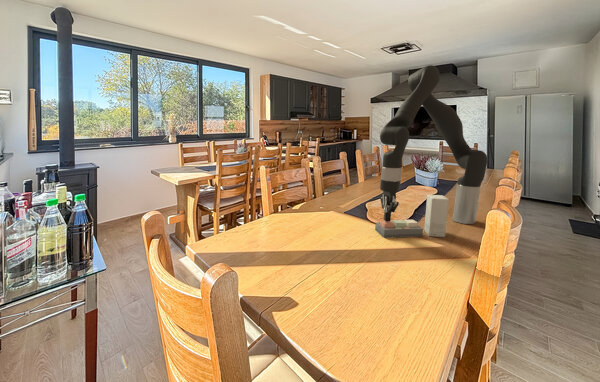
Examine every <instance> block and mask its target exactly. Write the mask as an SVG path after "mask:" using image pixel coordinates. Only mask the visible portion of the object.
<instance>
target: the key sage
mask: <svg viewBox="0 0 600 382" xmlns="http://www.w3.org/2000/svg"><path fill="white" fill-rule="evenodd" d="M391 221H392V222H393V223H394V227H396V228H397V227H406V223H405V222H404V220H402V219H392V220H391Z"/></svg>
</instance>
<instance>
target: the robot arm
mask: <svg viewBox="0 0 600 382" xmlns="http://www.w3.org/2000/svg"><path fill="white" fill-rule="evenodd" d="M440 80H441V74H440V71H439V69H438V67H436V66H435V65H431V64H429V65H425V66H424V67H422V68H420V69H418V70H417V71H414V73H411V74H410V75H409V76H408V79H407V85H408V86H409V87H408V88H409V89H410V91H411V93H410V95H409V96H407V98H406V99H405V100H404V101H403V102H402V103H401V105H400V106H399V107H398V110H397V111H396V113H395V115H394V117H392V118H391V119H390V120H389V121H388V122H387V123H386V124H385V125H384V126H383V127H382V129H381V131H380V133H379V141H380V142H381V143H382V144H383V145H385V146H395V147H394V149H393V150H389V151H386V152H384V153H383V157H382V167H381V170H380V173H381V174H380V183H379V189H380V191H382V194H380V195H379V199H380V205H381V208H382V210H383V212H384V214H383V220H385V221H392V220H391V218H392V213H395V211H396V210H397V209H398V206H399V205H400V203H399V201H397V194H396V193H399V192H400V191H401V181H402V163H403V157H404V153H405V150H406V147H407V145H408V143H409V140H410V131H409V129H408V128H410V126H412V123H413V122H414V119H415V118H416V117H417V116H416V115H417V114H418V112H419V111H420V109H421V108H422V107H423V108H424V109H425V111H426V112H427V114H428V115H429V117H430V119H431V120H432V122H433V124H434V125H435V127H436V129H437V130H438V132H439V133H440V135H441V136H442V138H443V139H444V141H445V143H446V144H447V146H448V147H449V149H450V151H451V153H452V155H453V157H454V159H455V161H456V163H457V165H458V166H459V167H460V168H461V169H463V170H464V175H463V176H460V177H459V178H458V179H457V181H456V182H457V184H456V191H455V199H454V200H455V201H454V205H453V214H452V221H454V222H456V223H460V224H465V225H473V224H475V223H476V221H477V213H478V209H479V200H480V199H479V198H480V193H481V186H482V182H483V181H484V180H485V176H486V170H487V165H488V156H487V154H486V152H485V151H484V150H479V149H472V148H471V147H470V146H469V144H468V142H467V141H466V139H465V137H464V127H463V123H462V120H461V118H460V117H459V114H458V113H457V111H456V110H455V109H454V108H453V107H451V106H450V105H448V104H446V103H444V102H442V101H440V100H439V99H437V98H436V97H435V96H434V95H433V94H432V92H433V90H435V88H436V87H437V86H438V85H439V83H440Z"/></svg>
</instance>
